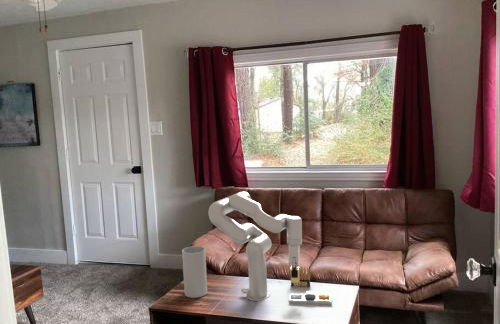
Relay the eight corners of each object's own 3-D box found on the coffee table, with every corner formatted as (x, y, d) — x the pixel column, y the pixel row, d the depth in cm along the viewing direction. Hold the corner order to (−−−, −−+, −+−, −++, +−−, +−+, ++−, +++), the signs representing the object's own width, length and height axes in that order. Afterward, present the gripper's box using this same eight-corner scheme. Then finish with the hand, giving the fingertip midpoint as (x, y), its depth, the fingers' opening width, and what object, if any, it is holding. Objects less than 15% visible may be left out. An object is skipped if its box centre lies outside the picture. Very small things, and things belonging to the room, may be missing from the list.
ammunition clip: (310, 287, 238) (309, 266, 237) (310, 288, 237) (309, 267, 235) (291, 286, 240) (290, 266, 239) (290, 288, 238) (290, 267, 237)
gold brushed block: (291, 282, 217) (290, 269, 216) (291, 279, 221) (290, 266, 220) (299, 282, 217) (298, 269, 216) (299, 279, 221) (299, 266, 220)
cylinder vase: (180, 293, 237) (177, 249, 235) (200, 287, 245) (197, 244, 242) (191, 300, 227) (189, 255, 225) (211, 293, 235) (209, 249, 232)
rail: (289, 305, 217) (289, 299, 216) (290, 299, 224) (289, 293, 224) (331, 306, 213) (331, 301, 213) (330, 300, 221) (330, 294, 221)
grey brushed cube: (306, 302, 217) (305, 294, 217) (306, 299, 221) (305, 290, 221) (314, 302, 216) (314, 294, 216) (314, 299, 221) (314, 290, 220)
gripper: (288, 235, 225) (288, 269, 227) (285, 245, 209) (286, 281, 211) (302, 236, 224) (302, 269, 226) (301, 246, 208) (301, 282, 210)
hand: (294, 275), depth 219 cm, fingers closed on gold brushed block, 4 cm apart
